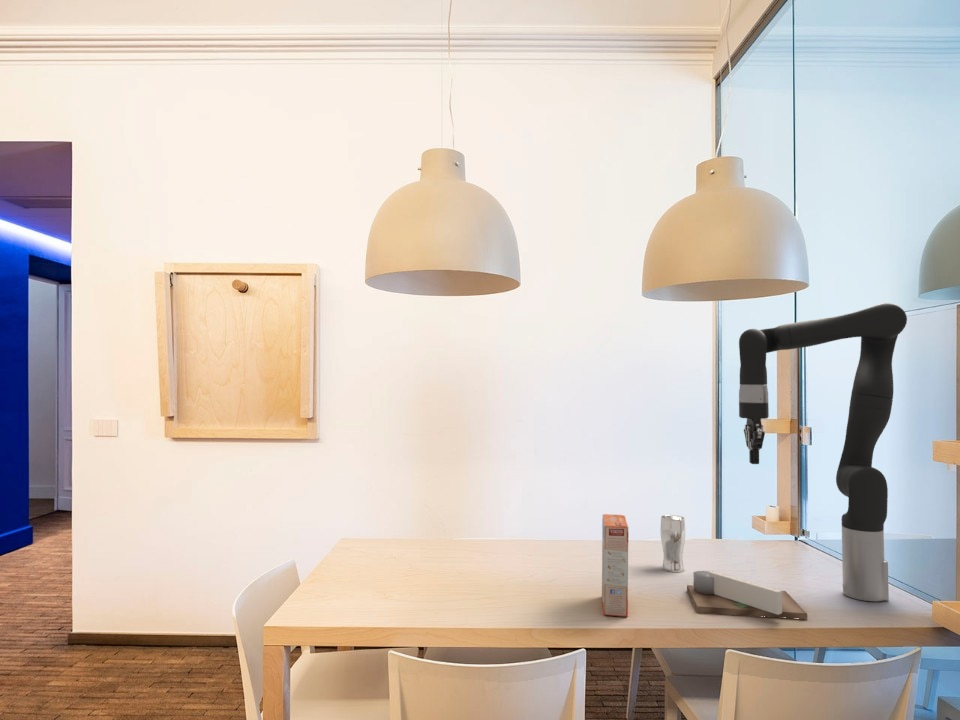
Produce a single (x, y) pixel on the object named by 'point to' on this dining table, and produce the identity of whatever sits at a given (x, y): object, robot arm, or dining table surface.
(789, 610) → the brown wooden board
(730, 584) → the lever handle
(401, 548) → the dining table surface
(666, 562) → the beer glass
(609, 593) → the cracker box
